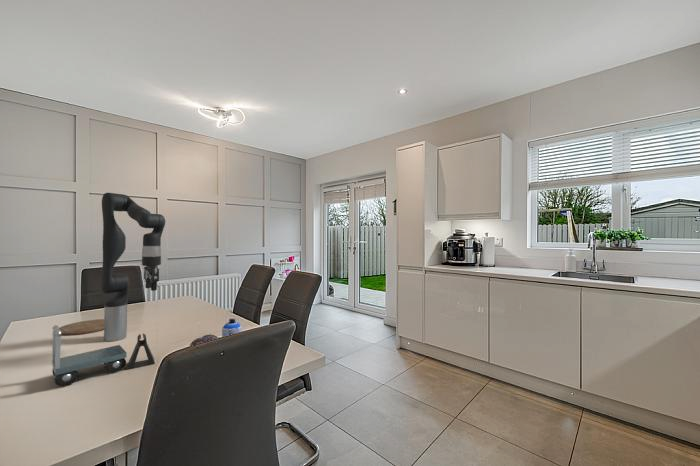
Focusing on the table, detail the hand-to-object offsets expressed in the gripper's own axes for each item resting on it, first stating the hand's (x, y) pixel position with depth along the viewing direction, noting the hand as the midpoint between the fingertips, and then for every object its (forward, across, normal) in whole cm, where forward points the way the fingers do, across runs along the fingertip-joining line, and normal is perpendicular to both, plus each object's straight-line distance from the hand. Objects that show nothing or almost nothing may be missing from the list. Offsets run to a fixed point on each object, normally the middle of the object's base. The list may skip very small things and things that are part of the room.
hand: (151, 289), depth 138 cm
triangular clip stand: (+28, +17, -8) cm, 34 cm away
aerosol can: (+28, +48, +16) cm, 58 cm away
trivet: (+29, -60, -15) cm, 68 cm away
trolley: (+28, +13, -23) cm, 39 cm away
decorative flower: (+28, +34, +10) cm, 45 cm away
